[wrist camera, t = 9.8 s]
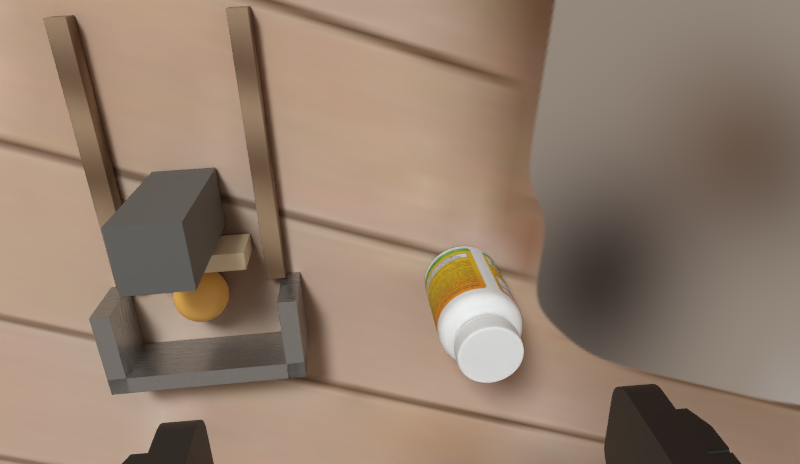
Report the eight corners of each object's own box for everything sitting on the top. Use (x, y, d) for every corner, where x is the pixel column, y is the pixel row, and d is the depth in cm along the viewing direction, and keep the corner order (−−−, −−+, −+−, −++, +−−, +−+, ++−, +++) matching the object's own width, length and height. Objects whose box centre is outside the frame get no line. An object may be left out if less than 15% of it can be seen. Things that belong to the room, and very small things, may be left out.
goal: (111, 287, 41) (89, 318, 38) (299, 272, 42) (296, 301, 39) (130, 359, 44) (111, 394, 40) (308, 343, 45) (306, 376, 41)
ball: (178, 333, 40) (184, 289, 43) (232, 329, 41) (235, 285, 43) (162, 305, 38) (169, 259, 40) (219, 300, 38) (224, 255, 40)
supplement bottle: (413, 299, 44) (432, 383, 35) (438, 235, 42) (464, 307, 33) (480, 316, 45) (514, 401, 36) (508, 254, 43) (551, 328, 34)
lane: (52, 16, 34) (42, 18, 33) (250, 6, 35) (247, 7, 34) (123, 282, 41) (117, 291, 40) (286, 269, 42) (284, 277, 41)
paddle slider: (128, 173, 38) (70, 230, 30) (238, 166, 39) (211, 219, 30) (148, 257, 41) (99, 331, 32) (252, 249, 41) (230, 319, 33)
